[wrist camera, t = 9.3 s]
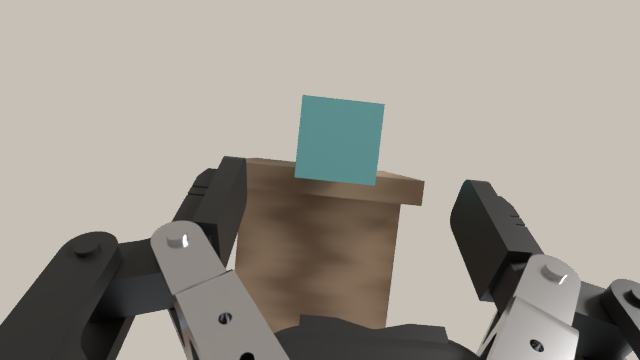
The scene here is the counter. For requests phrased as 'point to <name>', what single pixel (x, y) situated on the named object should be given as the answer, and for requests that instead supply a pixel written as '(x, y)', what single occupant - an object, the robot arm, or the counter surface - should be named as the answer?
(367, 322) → the walnut pedestal
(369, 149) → the teal bar
